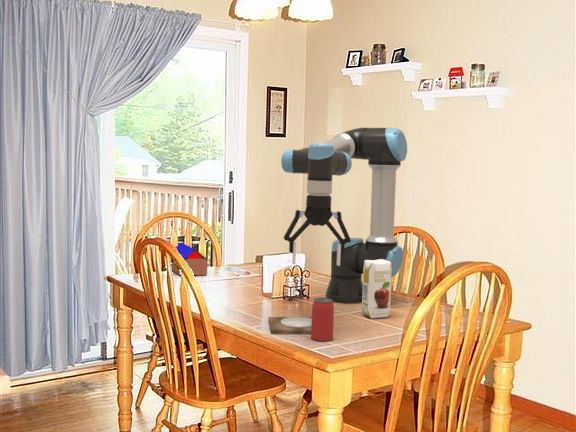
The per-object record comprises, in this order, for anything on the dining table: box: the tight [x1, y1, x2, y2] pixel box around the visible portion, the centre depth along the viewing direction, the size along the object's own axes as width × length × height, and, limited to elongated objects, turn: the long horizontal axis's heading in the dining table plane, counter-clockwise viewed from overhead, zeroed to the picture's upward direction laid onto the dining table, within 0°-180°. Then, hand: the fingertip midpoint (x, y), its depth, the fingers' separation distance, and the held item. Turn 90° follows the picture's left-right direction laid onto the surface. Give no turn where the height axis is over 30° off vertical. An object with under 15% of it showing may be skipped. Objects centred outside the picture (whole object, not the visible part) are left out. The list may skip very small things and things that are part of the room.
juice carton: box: [361, 259, 392, 319], centre depth 233 cm, size 8×9×19 cm
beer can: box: [310, 297, 335, 342], centre depth 204 cm, size 7×7×12 cm
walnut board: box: [267, 316, 312, 335], centre depth 217 cm, size 18×16×1 cm
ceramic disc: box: [281, 316, 312, 328], centre depth 217 cm, size 11×11×1 cm
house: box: [171, 242, 208, 276], centre depth 305 cm, size 12×20×12 cm, turn 26°
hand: (316, 264), depth 208 cm, fingers open, 13 cm apart
